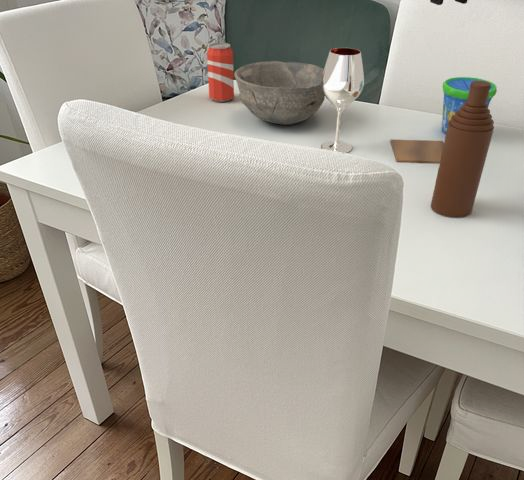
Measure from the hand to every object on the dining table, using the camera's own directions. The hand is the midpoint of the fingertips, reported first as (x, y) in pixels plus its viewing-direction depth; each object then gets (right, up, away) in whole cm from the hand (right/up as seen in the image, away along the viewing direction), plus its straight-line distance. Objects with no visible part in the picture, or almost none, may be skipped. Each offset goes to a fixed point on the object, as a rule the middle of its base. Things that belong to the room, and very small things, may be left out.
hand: (448, 1), depth 98 cm
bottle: (0, -36, -2) cm, 36 cm away
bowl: (-28, -8, +31) cm, 43 cm away
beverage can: (-42, +2, +43) cm, 60 cm away
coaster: (0, -20, +17) cm, 26 cm away
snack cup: (+11, -13, +25) cm, 31 cm away
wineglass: (-17, -19, +19) cm, 32 cm away
